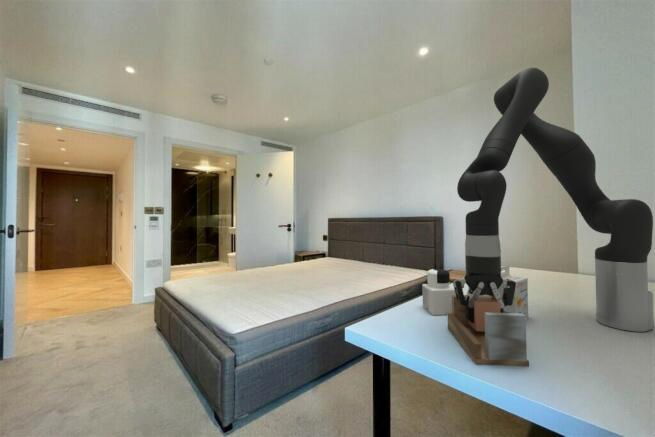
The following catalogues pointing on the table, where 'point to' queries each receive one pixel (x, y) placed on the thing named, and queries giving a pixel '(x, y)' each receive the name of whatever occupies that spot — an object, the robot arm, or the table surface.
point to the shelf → (491, 336)
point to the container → (438, 292)
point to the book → (483, 311)
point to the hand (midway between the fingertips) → (484, 321)
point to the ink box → (516, 293)
